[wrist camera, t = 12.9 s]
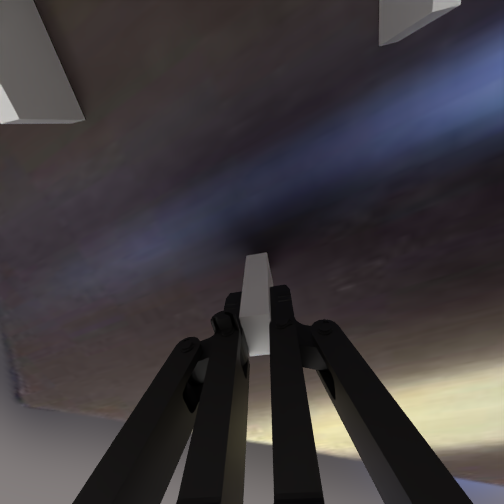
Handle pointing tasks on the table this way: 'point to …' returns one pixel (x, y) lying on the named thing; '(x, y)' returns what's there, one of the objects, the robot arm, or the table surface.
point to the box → (59, 89)
